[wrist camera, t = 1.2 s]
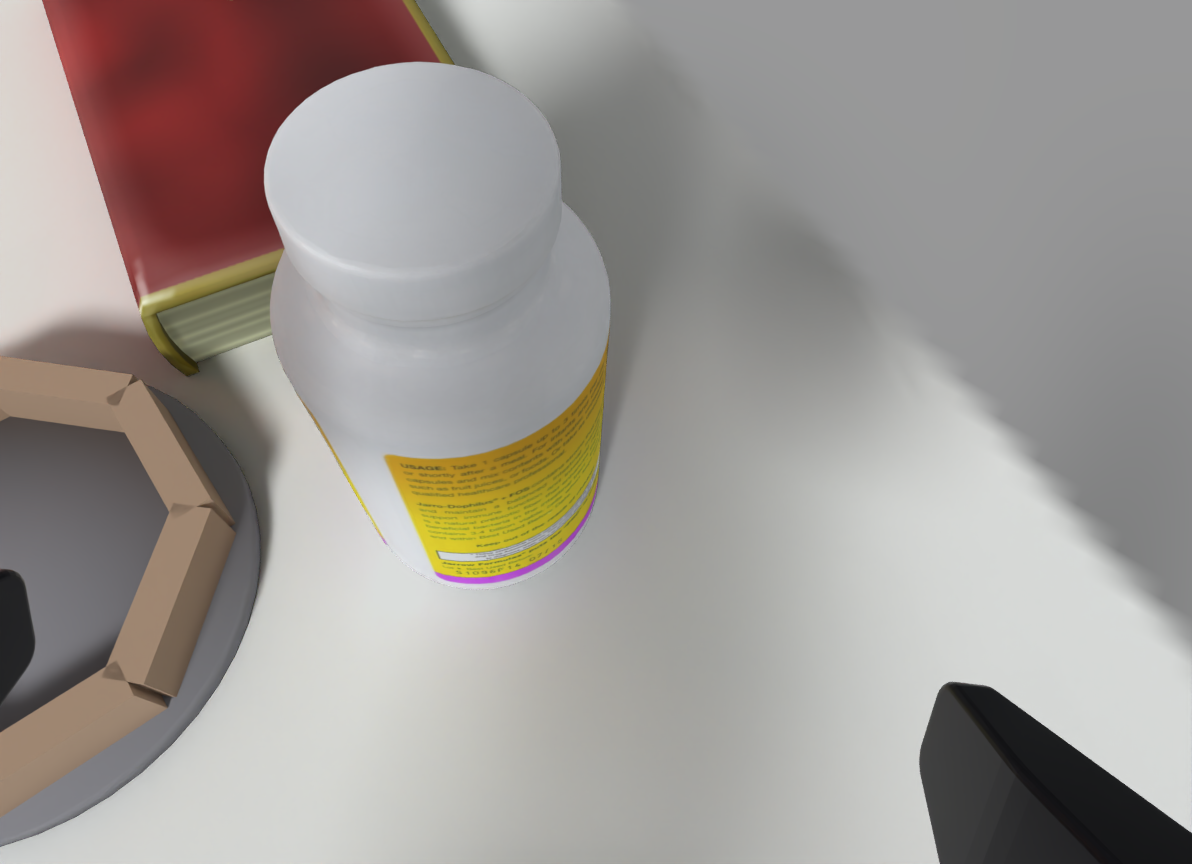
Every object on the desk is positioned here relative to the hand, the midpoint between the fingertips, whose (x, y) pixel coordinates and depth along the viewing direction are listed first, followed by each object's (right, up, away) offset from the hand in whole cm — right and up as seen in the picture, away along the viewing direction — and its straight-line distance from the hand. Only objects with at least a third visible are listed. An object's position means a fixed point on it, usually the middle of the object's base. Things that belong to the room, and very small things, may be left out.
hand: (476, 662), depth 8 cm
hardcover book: (-11, +14, +24) cm, 30 cm away
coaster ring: (-15, -2, +14) cm, 21 cm away
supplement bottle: (-2, +1, +16) cm, 17 cm away
